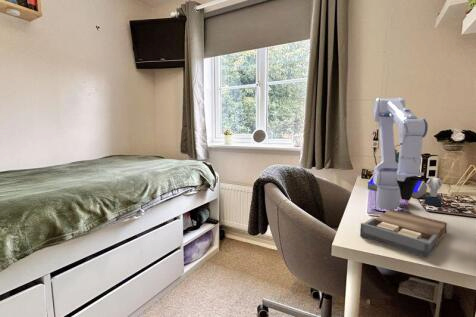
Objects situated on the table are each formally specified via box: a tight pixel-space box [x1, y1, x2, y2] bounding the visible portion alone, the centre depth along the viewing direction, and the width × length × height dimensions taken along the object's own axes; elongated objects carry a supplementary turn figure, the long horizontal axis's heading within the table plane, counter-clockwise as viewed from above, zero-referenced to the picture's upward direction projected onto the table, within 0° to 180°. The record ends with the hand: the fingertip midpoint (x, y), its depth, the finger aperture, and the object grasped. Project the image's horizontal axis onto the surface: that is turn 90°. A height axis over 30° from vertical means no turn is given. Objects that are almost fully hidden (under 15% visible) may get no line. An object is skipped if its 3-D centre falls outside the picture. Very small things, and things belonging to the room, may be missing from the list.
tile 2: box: [398, 229, 421, 240], centre depth 71 cm, size 4×4×2 cm
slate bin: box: [359, 217, 438, 259], centre depth 73 cm, size 9×17×4 cm, turn 41°
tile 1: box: [377, 222, 399, 233], centre depth 76 cm, size 4×4×2 cm
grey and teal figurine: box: [423, 177, 443, 207], centre depth 106 cm, size 6×8×11 cm
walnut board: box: [375, 210, 448, 245], centre depth 81 cm, size 14×16×3 cm
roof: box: [367, 175, 428, 199], centre depth 126 cm, size 22×14×7 cm, turn 39°
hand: (405, 199), depth 82 cm, fingers closed
